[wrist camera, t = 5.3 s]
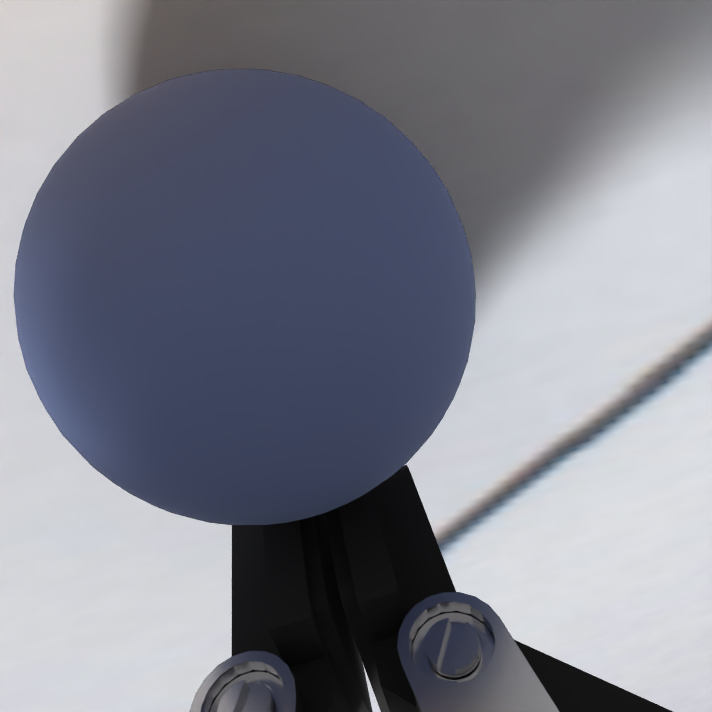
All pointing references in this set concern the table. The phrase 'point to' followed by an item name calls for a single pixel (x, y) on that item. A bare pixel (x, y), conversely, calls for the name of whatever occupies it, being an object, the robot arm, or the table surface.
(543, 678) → the robot arm
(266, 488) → the slate blue ball
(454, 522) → the table surface
